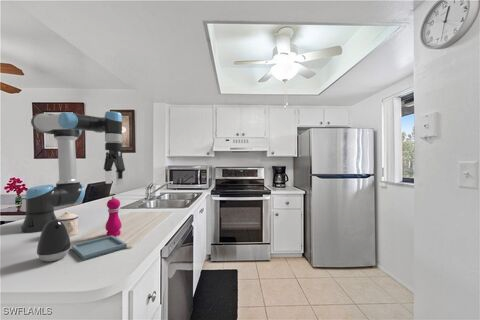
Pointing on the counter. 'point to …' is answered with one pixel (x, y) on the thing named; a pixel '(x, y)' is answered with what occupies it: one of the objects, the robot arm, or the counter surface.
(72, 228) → the teacup with lid
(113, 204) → the pepper mill
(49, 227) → the black rounded piece
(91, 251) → the tray
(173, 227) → the counter surface
